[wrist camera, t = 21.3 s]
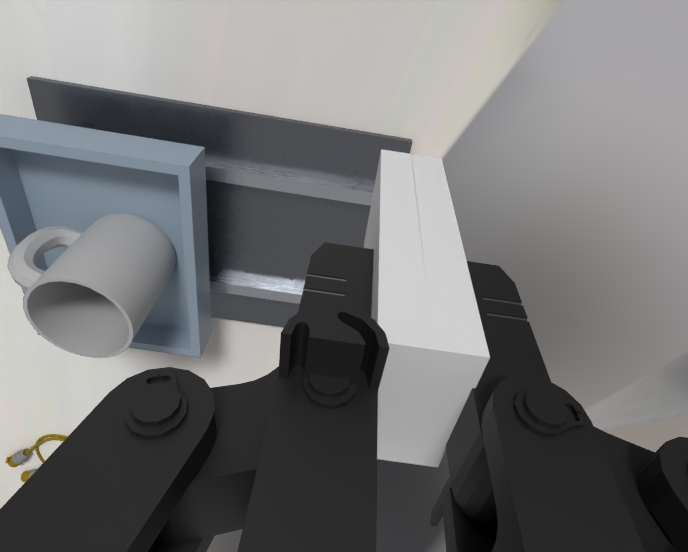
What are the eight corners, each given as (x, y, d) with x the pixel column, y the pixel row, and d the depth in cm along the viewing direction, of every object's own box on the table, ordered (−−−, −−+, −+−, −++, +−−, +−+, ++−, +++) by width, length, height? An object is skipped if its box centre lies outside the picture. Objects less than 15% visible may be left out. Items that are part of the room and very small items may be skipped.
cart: (214, 135, 35) (189, 166, 31) (218, 314, 46) (200, 357, 42) (21, 104, 35) (-34, 130, 30) (72, 293, 46) (38, 334, 41)
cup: (163, 295, 41) (118, 371, 34) (48, 244, 38) (-27, 314, 31) (190, 237, 37) (146, 309, 30) (64, 176, 34) (-18, 238, 27)
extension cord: (-4, 424, 65) (-14, 436, 63) (107, 437, 65) (101, 449, 63) (22, 471, 72) (14, 483, 70) (122, 482, 72) (117, 494, 71)
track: (411, 139, 37) (413, 146, 35) (364, 334, 50) (363, 345, 48) (31, 76, 35) (18, 81, 34) (85, 294, 48) (77, 303, 47)
